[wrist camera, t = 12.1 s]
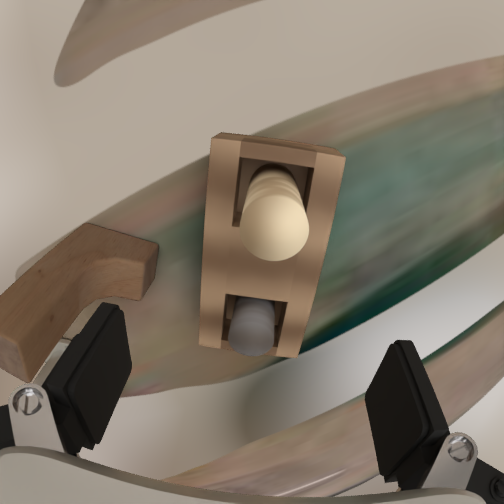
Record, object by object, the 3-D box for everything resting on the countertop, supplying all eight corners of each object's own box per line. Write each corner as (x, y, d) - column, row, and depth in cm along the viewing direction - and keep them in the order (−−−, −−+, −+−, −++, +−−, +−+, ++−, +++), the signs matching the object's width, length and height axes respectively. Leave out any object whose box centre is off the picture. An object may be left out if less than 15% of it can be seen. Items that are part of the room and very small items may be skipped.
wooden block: (160, 243, 32) (73, 373, 16) (155, 279, 34) (81, 411, 18) (85, 220, 32) (-28, 319, 15) (84, 256, 34) (-12, 362, 17)
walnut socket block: (295, 330, 36) (297, 376, 29) (206, 318, 36) (193, 362, 30) (335, 148, 27) (353, 164, 20) (221, 132, 27) (204, 142, 21)
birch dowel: (299, 166, 27) (314, 201, 18) (292, 210, 29) (303, 264, 20) (252, 160, 27) (242, 192, 18) (247, 205, 29) (236, 257, 20)
